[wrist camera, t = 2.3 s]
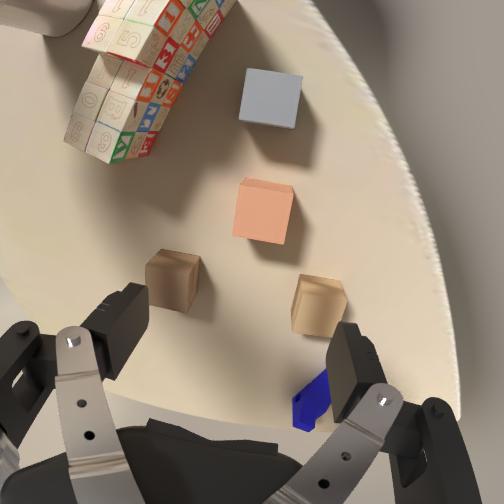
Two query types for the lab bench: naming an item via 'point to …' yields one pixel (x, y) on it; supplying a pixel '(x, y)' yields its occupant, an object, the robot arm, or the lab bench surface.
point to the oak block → (317, 306)
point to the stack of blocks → (138, 72)
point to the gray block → (270, 98)
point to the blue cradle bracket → (311, 402)
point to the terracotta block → (263, 210)
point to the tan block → (172, 280)
